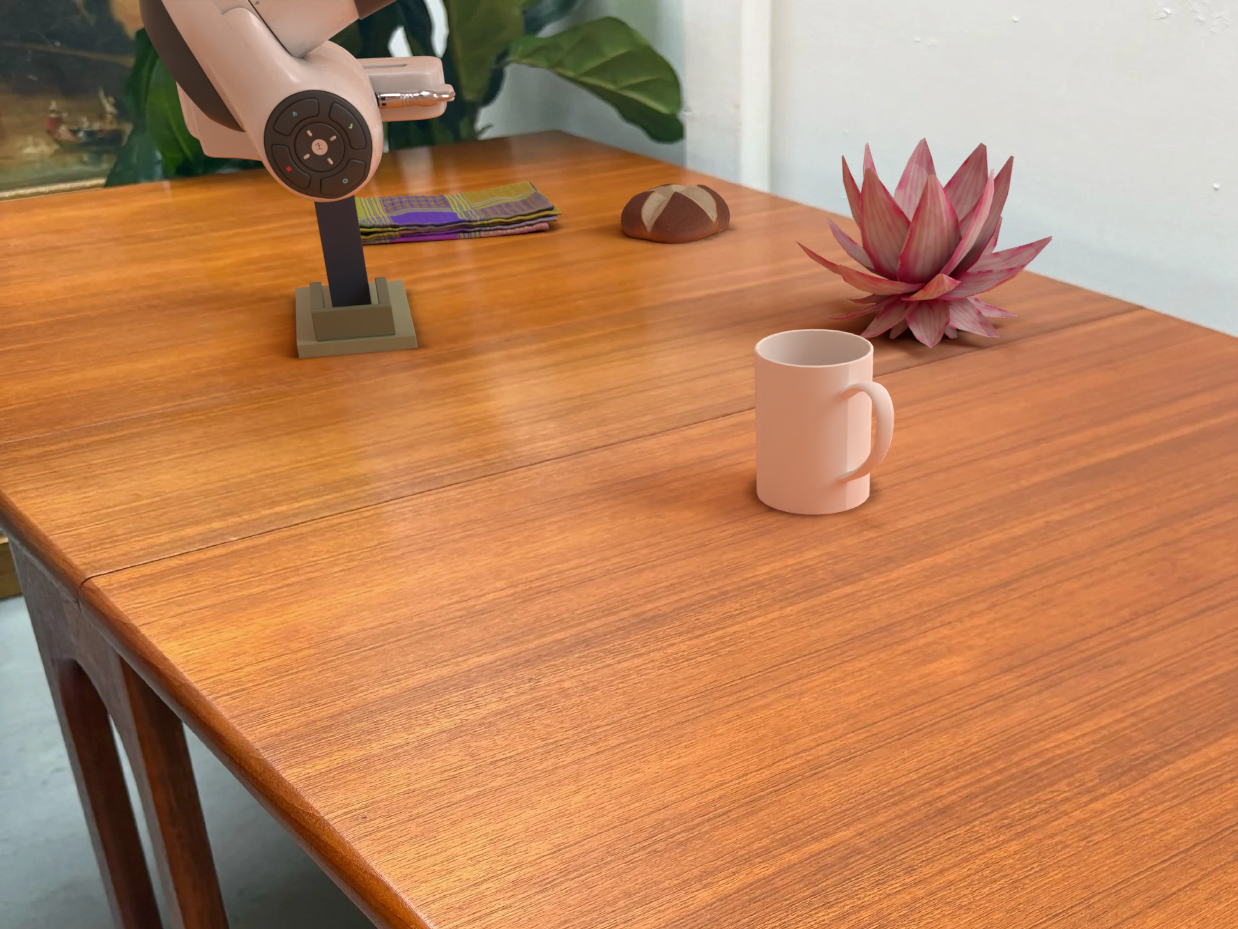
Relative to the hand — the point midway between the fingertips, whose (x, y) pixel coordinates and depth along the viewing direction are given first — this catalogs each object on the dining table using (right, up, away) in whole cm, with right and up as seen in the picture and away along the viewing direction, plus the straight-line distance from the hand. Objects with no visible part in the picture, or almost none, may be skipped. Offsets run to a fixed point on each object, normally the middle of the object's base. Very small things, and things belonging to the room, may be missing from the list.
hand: (313, 75), depth 123 cm
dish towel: (0, +5, +46) cm, 46 cm away
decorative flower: (+51, -17, +13) cm, 55 cm away
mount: (-1, -16, +15) cm, 22 cm away
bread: (+26, +3, +43) cm, 50 cm away
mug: (+42, -39, -19) cm, 60 cm away
